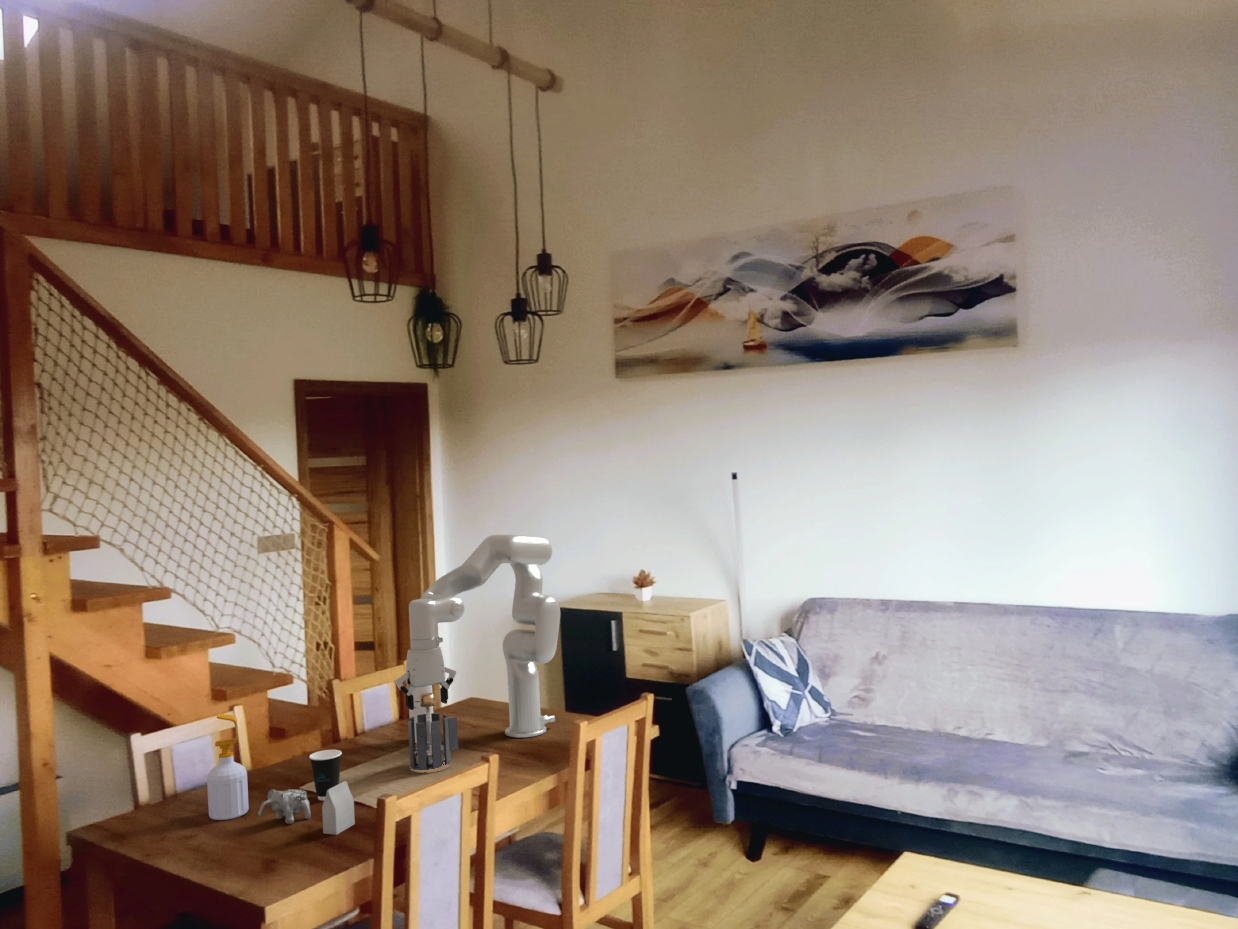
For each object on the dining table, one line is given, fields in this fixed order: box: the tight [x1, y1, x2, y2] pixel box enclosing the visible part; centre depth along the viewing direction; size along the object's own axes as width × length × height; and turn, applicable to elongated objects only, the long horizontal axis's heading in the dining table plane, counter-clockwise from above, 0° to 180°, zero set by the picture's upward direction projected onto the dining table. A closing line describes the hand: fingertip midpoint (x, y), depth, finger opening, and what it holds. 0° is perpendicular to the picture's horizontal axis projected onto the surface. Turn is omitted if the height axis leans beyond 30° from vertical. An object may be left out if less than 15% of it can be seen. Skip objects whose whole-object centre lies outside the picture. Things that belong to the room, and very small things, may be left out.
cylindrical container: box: [408, 685, 434, 743], centre depth 295 cm, size 7×7×25 cm
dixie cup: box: [308, 749, 342, 801], centre depth 247 cm, size 8×8×11 cm
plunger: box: [415, 692, 444, 757], centre depth 268 cm, size 8×8×16 cm
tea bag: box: [321, 780, 356, 836], centre depth 224 cm, size 4×7×10 cm, turn 159°
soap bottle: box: [206, 713, 250, 821], centre depth 238 cm, size 9×9×25 cm
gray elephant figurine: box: [257, 788, 311, 825], centre depth 231 cm, size 9×12×8 cm
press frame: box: [407, 712, 459, 770], centre depth 269 cm, size 14×11×14 cm
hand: (427, 705), depth 268 cm, fingers open, 9 cm apart
